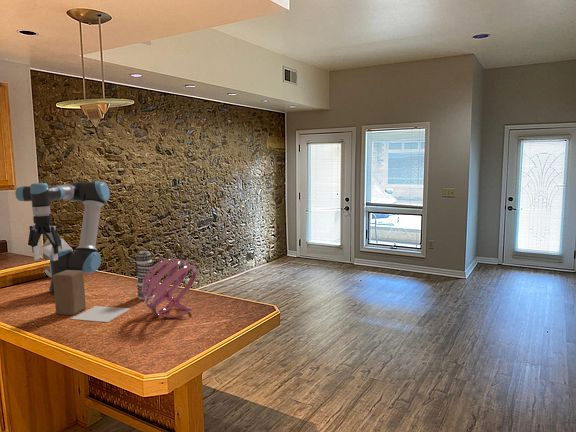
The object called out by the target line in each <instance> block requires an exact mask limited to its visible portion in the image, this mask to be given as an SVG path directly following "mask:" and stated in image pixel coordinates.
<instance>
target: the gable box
mask: <svg viewBox="0 0 576 432" xmlns="http://www.w3.org/2000/svg"><path fill="white" fill-rule="evenodd" d="M58 235H59V238H60V241H61V244H62V245H61V246H58V251H61V250H67V249H72V251H73V252H74V250H73V248H72V247H71V246H70V245H69V244H68V243H67V242H66V240H64V238H61V237H60V233H58ZM52 247H53V246H52V245H51V243H50V241H49V239H48V238H47V239H46V240H45V241H44V243H43V245H42V247H41V248H40V249H41V257H42V258H41V259H45V260H50V255H51V254H52V249H51V248H52ZM45 273H46V274H45ZM45 273H44V274H45V275H47V276H48V277H49V278H51V279H52V275H51V265H50V266H47V267H45Z"/></svg>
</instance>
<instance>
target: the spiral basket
mask: <svg viewBox="0 0 576 432" xmlns="http://www.w3.org/2000/svg"><path fill="white" fill-rule="evenodd" d="M171 261H172V262H171ZM169 262H171V263H170V264H168V263H169ZM182 263H183V266H182V267H181V268H180V269H179V265H180V264H182ZM152 269H153V270H152ZM151 270H152V272H151ZM190 270H192V275H191V276H190V278H189V280H188V282H187V283H186V285H185V287H184V288H183V289H182V291H180V293H179V294H178V295H177V296H176V297H173V294H174V292H176V290H177V289H178V288H179V287H180V286H181V284H182V283H183V282H184V279H185V278H186V276H187V274H188V272H189V271H190ZM157 271H158V273H157ZM150 272H151V273H150ZM168 272H169V273H168ZM149 273H150V274H149ZM155 273H157V274H156V275H155ZM167 273H168V274H167ZM148 274H149V275H148ZM166 274H167V275H166ZM165 275H166V277H165V278H164V279H163V280H162V281H161V282H160V280H161V279H162V278H163V277H164V276H165ZM197 275H198V269H197V268H196V267H195V265H192V264H189V262H188V261H187V260H185V259H177V258H173V257H172V258H167V259H165V260H160V261H158V262H157V263H155V264H153V266H152V267H151V268H150V270H149V271H148V272H147V274H146V275H145V277H144V280H143V286H142V294H143V297H144V299H143V300H144V303H145V305H146V307H148V309H149V310H150V311H151V312H152V313H153V314H155V315H156V316H158V317H161V318H163V319H164V318H165V319H176V318H180V317H183V316H185V315H186V314H188V313H190V312H192V311H194V310H195V308H194V307H192V308H189V307H187V306H184V305H183V304H182V303H181V300H182V299H183V298H184V297H185V295H186V294H187V293H188V291H189V290H190V289H191V287H193V284H194V282H195V281H196V279H197ZM151 277H152V279H151V280H150V278H151ZM173 283H174V284H173ZM172 284H173V285H172ZM149 285H150V286H149ZM171 285H172V286H171ZM146 286H149V288H148V289H147V291H146ZM170 286H171V287H170ZM153 295H154V297H153V298H152V299H153V300H152V301H151V302H149V299H148V298H149V297H150V296H153ZM165 301H168V304H167V305H166V306H164V307H162V308H161V309H159V310H157V306H158V305H159V306H160V305H161V304H162V303H163V302H165ZM174 307H175V308H178V309H180V310H181V311H184V312H183V313H181V314H178V315H164V314H165V313H166V312H168V311H170V310H171V309H172V308H174Z"/></svg>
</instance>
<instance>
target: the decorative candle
mask: <svg viewBox="0 0 576 432" xmlns="http://www.w3.org/2000/svg"><path fill="white" fill-rule="evenodd" d="M135 256H136V261H135V262H134V264H135V265H134V266H135V272H136V278H137V286H136V287H137V297H138V298H137V299H139V300H144V297H143V294H142V286H143V280H144V277H145V275H146V274H147V272H148V271H149V270H150V268H151V267H153V266H154V261H153V260H152V253H151V252H150V251H149V250H140V251H137V253H136V254H135ZM153 270H154V268H153V269H152V270H151V272H152V271H153ZM151 272H150V273H151ZM150 273H149V274H150ZM149 274H148V275H149ZM152 278H153V276H152V277H151V278H150V280H151V279H152ZM149 286H150V285H149ZM149 286H146V291H147V289H148V288H149ZM154 297H155V294H154V295H153V296H150V297H149V298H148V300H149V299H154Z"/></svg>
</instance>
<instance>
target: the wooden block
mask: <svg viewBox="0 0 576 432" xmlns="http://www.w3.org/2000/svg"><path fill="white" fill-rule="evenodd" d="M84 280H85V279H84V273H83V271H81V270H65V271H62V272H60V273H57V274H54V275H53V284H54V294H53V295H54V304H55V313H56V315H64V316H76V314H77V315H78V313H79V314H80V313H81V312H82V311H85V310H86V309H87V304H86V303H87V302H86V289H85V281H84Z"/></svg>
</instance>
